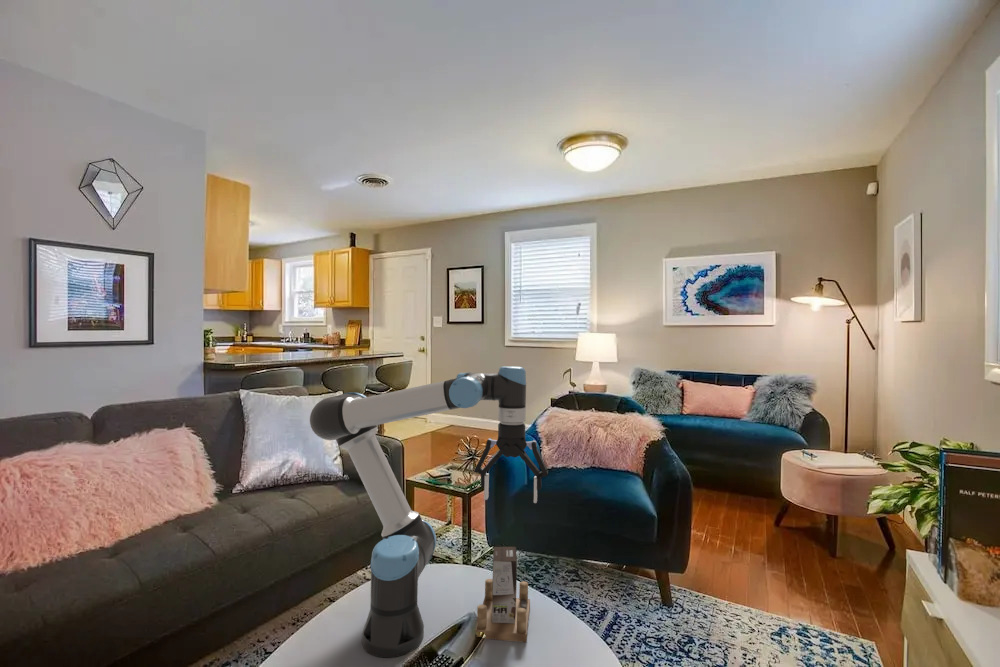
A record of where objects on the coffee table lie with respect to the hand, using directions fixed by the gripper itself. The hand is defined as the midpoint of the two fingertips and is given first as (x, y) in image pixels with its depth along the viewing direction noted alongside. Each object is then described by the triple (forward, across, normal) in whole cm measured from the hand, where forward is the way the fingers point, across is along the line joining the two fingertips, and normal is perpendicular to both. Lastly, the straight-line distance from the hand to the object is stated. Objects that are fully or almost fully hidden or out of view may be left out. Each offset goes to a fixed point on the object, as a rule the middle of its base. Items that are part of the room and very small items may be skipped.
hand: (510, 499), depth 127 cm
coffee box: (+30, -1, -2) cm, 30 cm away
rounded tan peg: (+29, +4, +3) cm, 30 cm away
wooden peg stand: (+32, -1, -2) cm, 32 cm away
